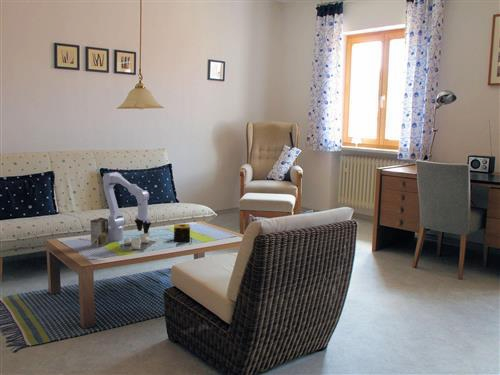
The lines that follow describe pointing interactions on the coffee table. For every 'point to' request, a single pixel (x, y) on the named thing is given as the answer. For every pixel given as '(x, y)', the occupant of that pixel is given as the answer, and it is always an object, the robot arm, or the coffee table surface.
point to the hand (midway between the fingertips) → (142, 232)
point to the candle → (181, 233)
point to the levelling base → (128, 247)
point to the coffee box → (99, 232)
